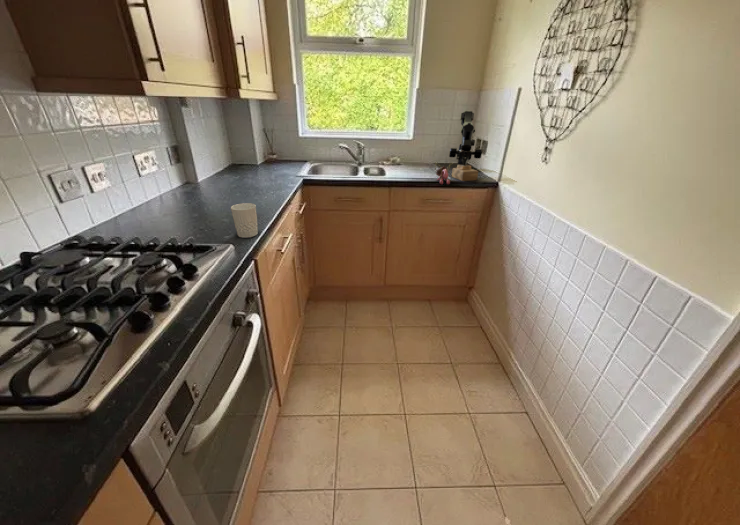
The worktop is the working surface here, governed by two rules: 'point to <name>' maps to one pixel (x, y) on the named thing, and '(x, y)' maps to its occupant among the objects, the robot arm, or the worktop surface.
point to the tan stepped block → (464, 173)
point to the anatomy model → (443, 174)
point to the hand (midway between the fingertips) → (464, 165)
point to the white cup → (245, 219)
